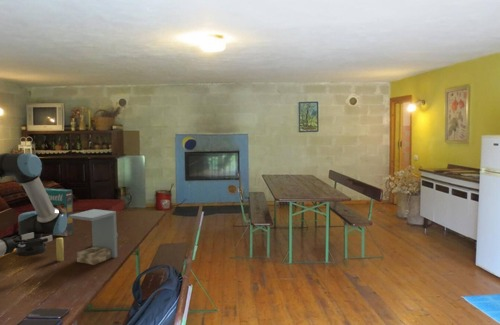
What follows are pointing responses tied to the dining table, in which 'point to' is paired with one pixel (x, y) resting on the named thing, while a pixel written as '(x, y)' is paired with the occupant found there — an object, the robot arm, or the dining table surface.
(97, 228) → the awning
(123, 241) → the dining table surface
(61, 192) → the cake mix box
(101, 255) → the socket block
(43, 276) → the dining table surface
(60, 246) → the peg
